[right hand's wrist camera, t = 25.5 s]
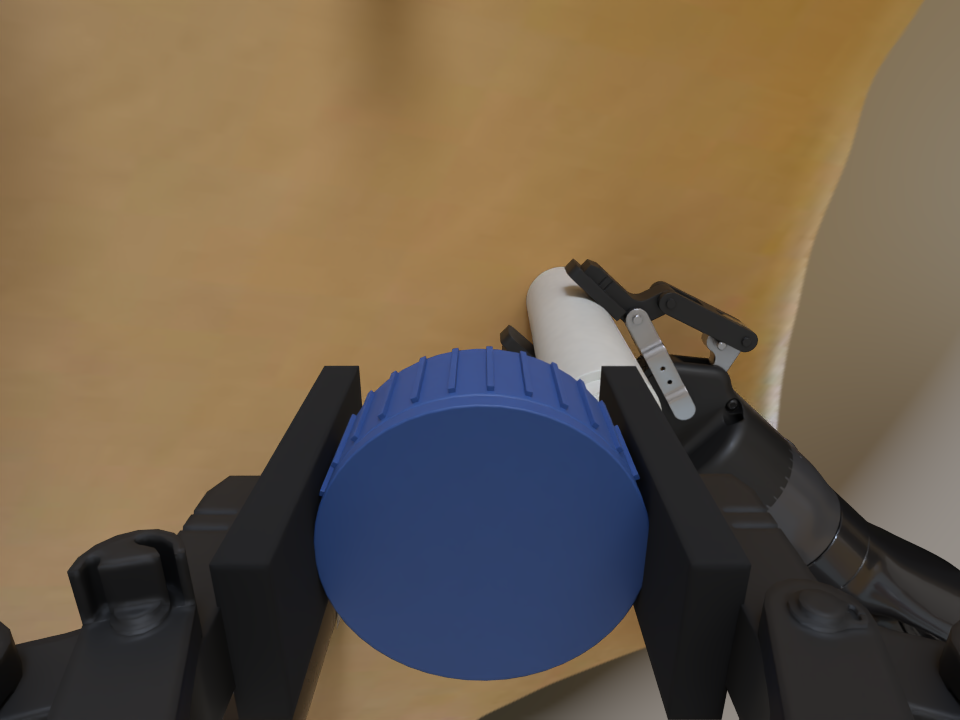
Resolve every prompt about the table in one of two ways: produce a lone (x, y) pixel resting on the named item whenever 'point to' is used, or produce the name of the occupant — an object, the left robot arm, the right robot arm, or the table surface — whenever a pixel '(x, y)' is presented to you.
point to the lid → (481, 518)
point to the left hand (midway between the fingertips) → (537, 301)
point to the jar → (575, 330)
